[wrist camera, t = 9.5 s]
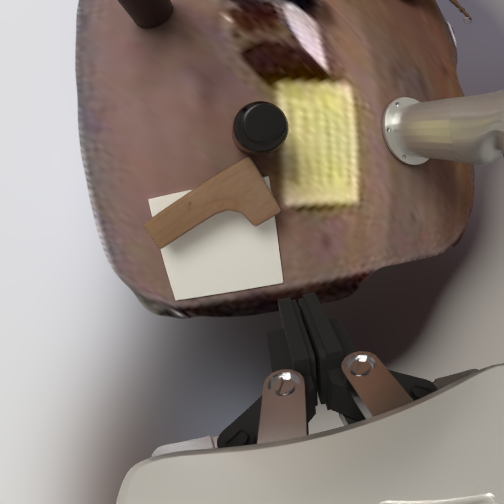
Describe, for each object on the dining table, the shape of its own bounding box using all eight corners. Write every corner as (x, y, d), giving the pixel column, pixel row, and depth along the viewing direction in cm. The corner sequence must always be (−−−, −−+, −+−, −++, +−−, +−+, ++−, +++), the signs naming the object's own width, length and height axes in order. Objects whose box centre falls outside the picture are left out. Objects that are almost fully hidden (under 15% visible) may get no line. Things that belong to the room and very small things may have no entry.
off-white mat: (268, 176, 41) (268, 176, 40) (282, 281, 47) (283, 282, 47) (149, 199, 40) (148, 199, 40) (176, 298, 47) (175, 300, 46)
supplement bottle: (262, 163, 40) (274, 165, 29) (223, 140, 38) (220, 134, 27) (285, 126, 38) (306, 115, 27) (247, 103, 37) (253, 83, 25)
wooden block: (282, 211, 38) (177, 274, 40) (277, 205, 42) (181, 263, 44) (249, 155, 35) (142, 225, 37) (247, 155, 39) (150, 218, 41)
